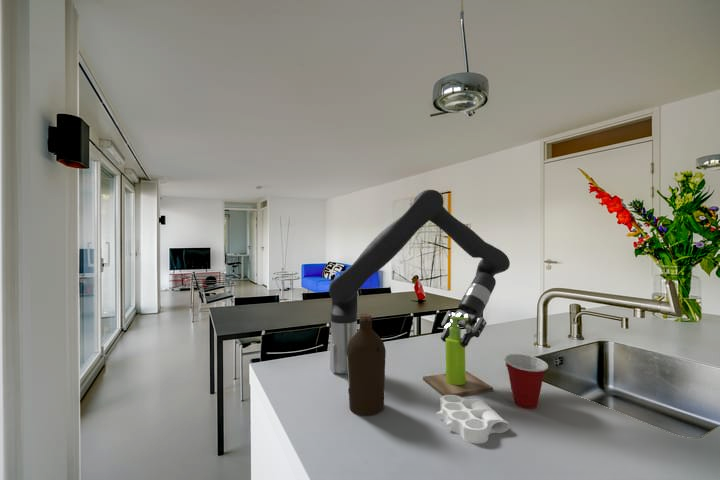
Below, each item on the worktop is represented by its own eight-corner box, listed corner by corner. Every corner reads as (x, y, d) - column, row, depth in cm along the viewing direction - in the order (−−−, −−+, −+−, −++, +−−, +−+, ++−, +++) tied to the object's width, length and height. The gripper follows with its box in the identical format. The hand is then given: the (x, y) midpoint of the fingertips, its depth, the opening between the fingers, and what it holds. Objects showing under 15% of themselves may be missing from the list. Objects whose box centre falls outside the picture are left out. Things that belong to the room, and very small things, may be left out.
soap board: (445, 398, 97) (445, 394, 97) (422, 379, 111) (422, 376, 111) (493, 390, 102) (493, 387, 102) (465, 373, 115) (465, 370, 115)
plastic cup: (531, 418, 86) (530, 370, 86) (496, 400, 95) (495, 357, 96) (558, 407, 91) (557, 362, 91) (522, 392, 100) (521, 351, 101)
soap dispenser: (470, 386, 103) (469, 319, 103) (446, 384, 104) (445, 318, 105) (467, 378, 109) (466, 315, 109) (445, 377, 110) (444, 314, 110)
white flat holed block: (517, 441, 77) (455, 447, 74) (478, 404, 94) (427, 408, 92) (517, 426, 77) (455, 432, 74) (478, 392, 94) (427, 396, 92)
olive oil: (391, 401, 96) (389, 312, 96) (379, 420, 86) (377, 320, 86) (356, 396, 99) (354, 310, 100) (340, 413, 90) (339, 317, 90)
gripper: (451, 291, 117) (428, 331, 110) (489, 296, 105) (466, 341, 98) (461, 304, 120) (440, 344, 113) (499, 311, 108) (477, 355, 101)
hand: (452, 342), depth 106 cm, fingers open, 6 cm apart
